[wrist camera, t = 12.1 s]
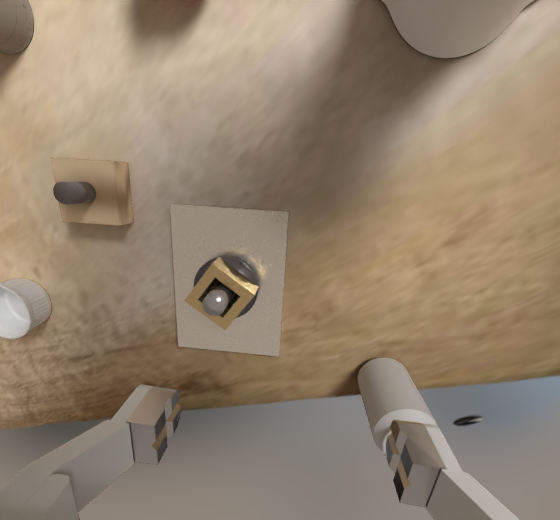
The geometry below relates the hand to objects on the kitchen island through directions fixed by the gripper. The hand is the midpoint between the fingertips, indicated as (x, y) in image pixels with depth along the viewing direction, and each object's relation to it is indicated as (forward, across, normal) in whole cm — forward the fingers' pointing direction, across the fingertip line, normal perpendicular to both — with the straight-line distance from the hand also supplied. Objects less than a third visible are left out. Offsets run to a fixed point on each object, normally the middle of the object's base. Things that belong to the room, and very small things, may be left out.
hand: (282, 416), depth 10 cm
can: (+27, -15, +20) cm, 37 cm away
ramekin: (+27, +42, +14) cm, 52 cm away
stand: (+28, +28, -4) cm, 39 cm away
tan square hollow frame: (+25, +9, +7) cm, 28 cm away
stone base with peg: (+28, +9, +7) cm, 30 cm away
